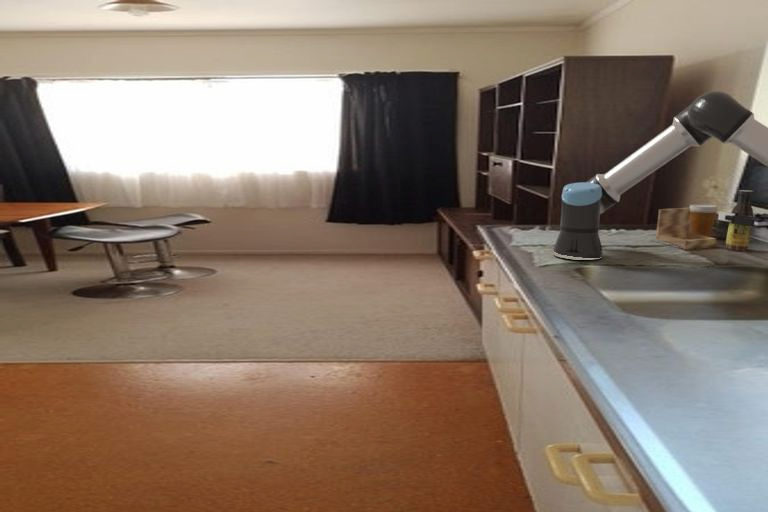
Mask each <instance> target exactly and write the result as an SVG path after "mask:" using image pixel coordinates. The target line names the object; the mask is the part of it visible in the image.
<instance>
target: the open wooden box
mask: <svg viewBox="0 0 768 512" xmlns="http://www.w3.org/2000/svg"><path fill="white" fill-rule="evenodd" d="M689 225H690V208H689V207H682V208H681V207H680V208H679V207H677V208H676V207H675V208H663V209H662V208H661V209H658V216H657V223H656V234H655V240H656V239H657V240H660V241H663V242H666V243H669V244H672V245H675V246H678V247H680V248H679V249H681V248H683V249H682V250H693V249H694V248H696V249H705V248H706V249H707V248H708V247H709V248H716V247H717V238H715V237H711V236H710V237H707V236H702V235H698V234H693V233H690V232H688V230H689ZM694 250H695V249H694Z"/></svg>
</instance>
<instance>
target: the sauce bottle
mask: <svg viewBox="0 0 768 512" xmlns="http://www.w3.org/2000/svg"><path fill="white" fill-rule="evenodd" d="M737 195H738V196H737V201H736V205H735V206H734V207H733V208H732V210H731V212H730V213H733V214H735V213H738V215H741V216H751V217H753V213H754V210H753V207H752V199H753V196H754V190H745V189H741V190H740V189H739V190H738V191H737ZM752 228H753V227H752V226H745V225H739V224H732V223H731V222H729V221H728V228H727V234H726V240H725V244H726V245H725V249H727V250H729V251H735V252H736V251H738V252H745V251H747V250H748V246H749V243H750V238H751V232H752Z"/></svg>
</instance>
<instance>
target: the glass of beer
mask: <svg viewBox="0 0 768 512" xmlns="http://www.w3.org/2000/svg"><path fill="white" fill-rule="evenodd" d="M688 208H690V216H689V233H693V234H698V235H702V236H707V237H711V232H712V230H713V225H714V223H715V222H714V221H715V219H716V215H717V213H718V212H719V209H718V206H717V205H715V204H704V203H703V204H702V203H697V204H694V203H693V204H689V207H688Z"/></svg>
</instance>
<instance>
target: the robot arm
mask: <svg viewBox="0 0 768 512" xmlns="http://www.w3.org/2000/svg"><path fill="white" fill-rule="evenodd" d="M713 138H714V139H716V140H718V141H719V142H721V143H722V144H724V145H725V144H732V145H733V146H735V147H737V148H738V149H740V150H741V151H743V152H745V153H746V154H747V155H749V156H751V157H752V158H753V159H755V160H757V161H758V162H760V163H761V164H763V165H764V166H766V167H767V168H768V126H766V125H765V124H763V123H761V122H759V121H758V120H757V119H755V113H754V112H752V111H751V110H749V109H748V108H746V107H745V106H743V105H742V104H741V103H739V101H738V100H736V99H735V98H734V97H733V96H732V95H731V94H729V93H727V92H724V91H720V90H719V91H718V90H713V91H708V92H706V93H705V92H704V93H703V94H701V95H700V96H698V97H696V99H695V100H694V101H693V102H692V103H691V104H690V105H688V106H687V107H686V108H684V109H683V110H681V112H679V113H678V114H676V115H675V116H674V117H673V121H672V124H671V125H670V126H668V127H667V128H665V129H664V130H663V131H662V132H660V133H659V134H658V135H656V136H655V137H653V138H652V139H650V140H649V141H648V142H647V143H645V144H644V145H643V146H641V147H639V148H637V150H636V151H634V152H633V153H632V154H630V155H629V156H627V157H626V158H624V159H623V160H621V162H619V163H618V164H617V165H615V166H614V167H612V168H611V169H610V170H608V171H607V172H606V173H604V174H603V173H601V174H600V173H597V174H595V175H593V176H592V177H591V178H589V180H587V181H586V182H583V181H582V182H574V183H568V184H566V185H564V187H563V189H562V192H561V193H562V194H561V207H560V208H561V209H560V211H561V212H560V223H559V225H560V227H559V233H558V236H557V239H556V241H555V243H554V246H553V250H552V252H553V251H554V252H556V253H558V254H561V255H567V256H573V257H582V258H600V257H602V258H603V254H604V253H603V252H604V250H603V247H602V243H601V242H602V241H601V239H600V235H599V231H600V229H599V228H600V217H601V214H603V213H605V211H607V210H609V209H610V208H611V207H613V206H614V205H616V204H617V203H619V202H620V201H621V200H620V199H621V195H623V194H624V193H626V191H628V190H629V189H631V188H632V187H634V186H635V185H637V184H638V183H639V182H641V181H643V180H644V179H646V177H648V176H649V175H651V174H652V173H654V172H656V171H657V170H659V169H660V168H661V167H663V166H664V165H666V164H667V163H668V162H670V161H672V160H673V159H675V158H676V157H677V156H679V155H680V154H681V153H683V152H685V151H686V150H687V149H689V148H690V147H700V146H702V145H703V144H705V143H706V142H708V141H709V140H711V139H713ZM717 220H718V221H723V222H728V223H729V222H731V223H732V224H739V225H745V226H752V227H751V228H756V229H762V228H763V229H766V230H768V213H760V212H759V213H756V212H755V213H754V212H753V217H751V216H741V215H738V213H735V214H733V213H731V212H725V211H718V219H717Z"/></svg>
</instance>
